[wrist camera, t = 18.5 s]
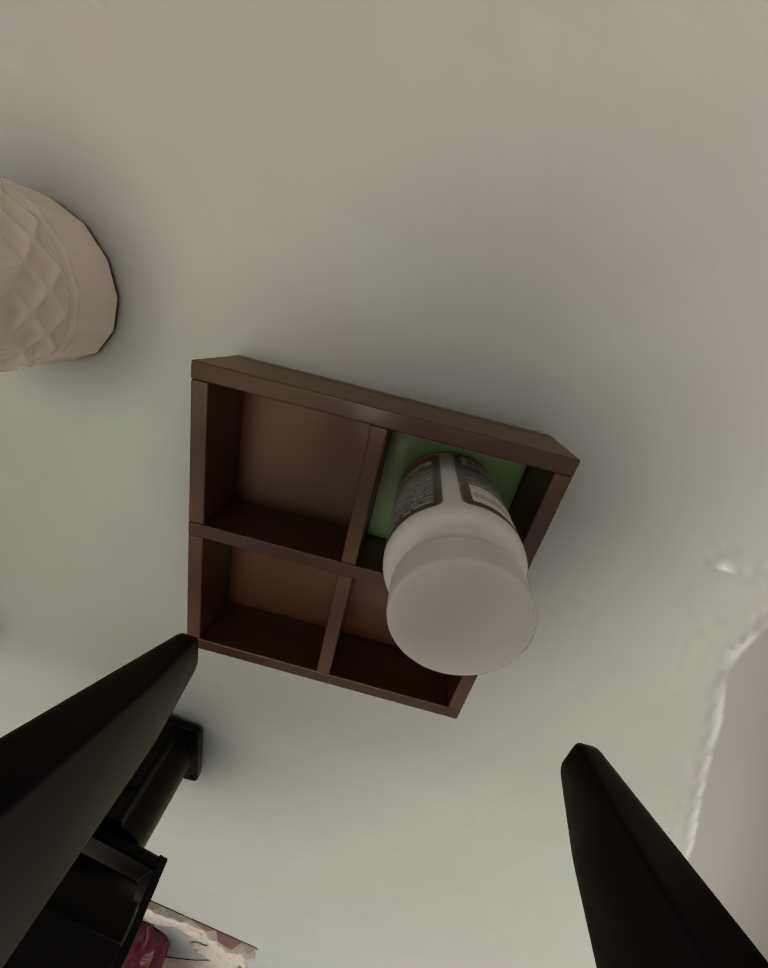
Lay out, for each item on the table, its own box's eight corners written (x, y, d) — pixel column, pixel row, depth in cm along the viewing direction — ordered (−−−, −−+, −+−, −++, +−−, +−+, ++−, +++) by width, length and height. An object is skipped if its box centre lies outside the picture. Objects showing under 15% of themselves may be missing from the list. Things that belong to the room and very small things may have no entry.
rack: (452, 662, 22) (456, 719, 19) (222, 600, 23) (186, 645, 19) (550, 435, 16) (581, 460, 13) (238, 354, 17) (190, 359, 13)
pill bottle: (399, 540, 19) (378, 684, 11) (392, 452, 17) (361, 550, 9) (495, 538, 18) (544, 692, 10) (497, 447, 16) (559, 548, 8)
